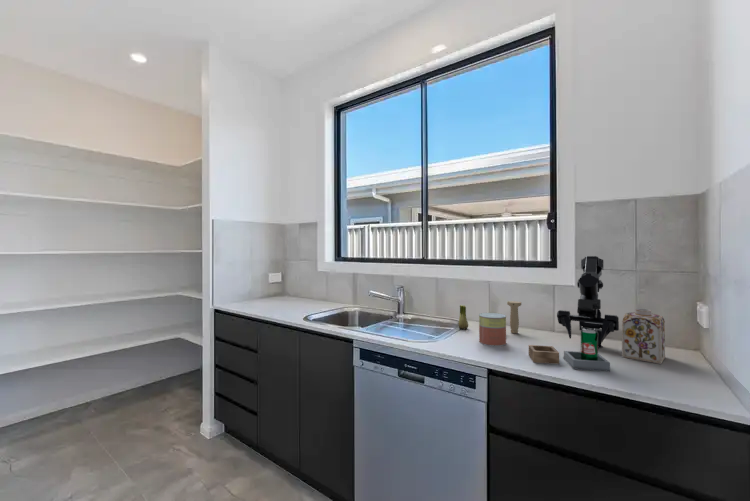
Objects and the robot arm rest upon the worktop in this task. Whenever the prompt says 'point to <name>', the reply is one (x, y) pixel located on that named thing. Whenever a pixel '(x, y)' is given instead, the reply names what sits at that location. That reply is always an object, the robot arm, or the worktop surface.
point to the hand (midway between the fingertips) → (585, 339)
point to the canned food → (492, 329)
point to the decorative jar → (643, 336)
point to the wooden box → (543, 354)
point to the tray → (586, 362)
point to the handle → (514, 316)
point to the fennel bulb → (463, 318)
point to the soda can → (589, 344)
